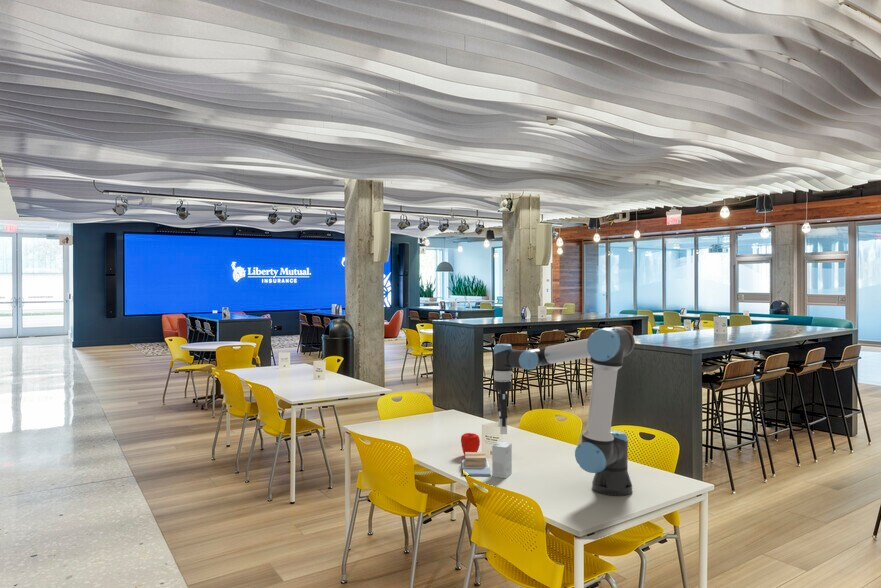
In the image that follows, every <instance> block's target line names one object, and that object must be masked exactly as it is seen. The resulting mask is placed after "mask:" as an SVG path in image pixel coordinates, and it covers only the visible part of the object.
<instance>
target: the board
mask: <svg viewBox="0 0 881 588" xmlns="http://www.w3.org/2000/svg"><path fill="white" fill-rule="evenodd" d="M462 469H463V470H464V471H465V472H467V473H468V474H469V475H471V476H470V477H491V468H490V463H489V460H488V459H486V467H465V459H461V470H462Z"/></svg>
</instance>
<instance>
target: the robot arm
mask: <svg viewBox="0 0 881 588" xmlns="http://www.w3.org/2000/svg"><path fill="white" fill-rule="evenodd" d="M635 343H636V342H635V337H634V335H633V333H632V332H631V331H630V330H628V329H627V328H625V327H622V326H615V327H602V328H599V329H597V330H595V331H593V332H592V333H591V334H590V335H589V336H588V338H583V339H578V340H573V341H568V342H564V343H557V344H553V345H548V346H543V347H537V348H536V347H535V348H531V349H524V350H523V349H513V347H512V344H511V343H497V344H495V345H494V347H493V349H494V350H493V366H494V367H493V379H494V381H493V390H495V391H498V393H497V399H498V400H497V401H498V406H497V408H498V409H497V410H498V427H499V429H500V432H499V433H500V435H507V434H508V393H507V391H511V390H512V388H513V385H512V382H513V381H512V379H513V378H512V375H514V372H512V370H513V368H515V369H521V370H534V369H536V367H540V366H547V365H552V364H557V363H564V362H570V361H575V360H581V359H589V358H590V359H589V363H590V364H591V365H592V366H593V372H592V378H591V379H592V381H591V389H590V390H591V391H590V396H589V407H588V414H587V416H588V417H587V422H586V423H587V425H586V429H584V430H583V431H582V433H581V440H580V441H581V442H580V443H579V444H578V445H577V446H576V447H575V449H574V458H575V461H576V463H577V464H578V466H579V467H580V469H582V470H583V471H584V472H587V473H590V474H594V476H593V478H592V481H591V483H592V484H591V487H592V489H593V491H595V492H597V493H599V494H602V495H607V496H627V495H631V494H632V493H633V484H632V483H633V482H632V481H631V477H630V474H629V471H628V467H629V466H628V458H629V457H628V456H629V455H628V453H629V452H628V451H629V448H628V447H629V441H628V435H627V433H625V432H623V431H619V430H612V421H613V412H614V405H615V404H614V403H615V394H616V388H617V387H616V386H617V378H618V372H619V370H620V369H622V367H623V366H624V365H623V364H624V357H627V356H628V355H630V354H631V353H632V352H633V350H634V349H635V345H636V344H635Z"/></svg>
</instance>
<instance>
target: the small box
mask: <svg viewBox="0 0 881 588" xmlns="http://www.w3.org/2000/svg"><path fill="white" fill-rule="evenodd" d="M512 446H513V445H512V442H507V441H505V442H504V441H497V442H496V443H494V444H493V445H492V446H491V454H492V455H491V462H492V464H491V467H492V468H491V469H492V470H491V471H492V477H494V478H501V479H507V478H508V477H509V476H510V475H511V474H512V473H513V470H512V469H513V467H512V461H513V460H512V457H513V456H512V453H513V451H512V448H513V447H512Z"/></svg>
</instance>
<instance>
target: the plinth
mask: <svg viewBox="0 0 881 588" xmlns="http://www.w3.org/2000/svg"><path fill="white" fill-rule="evenodd" d="M464 460H465V467H486V460H487V455H486V451H485V452H483V451H477V452H465V455H464Z"/></svg>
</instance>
